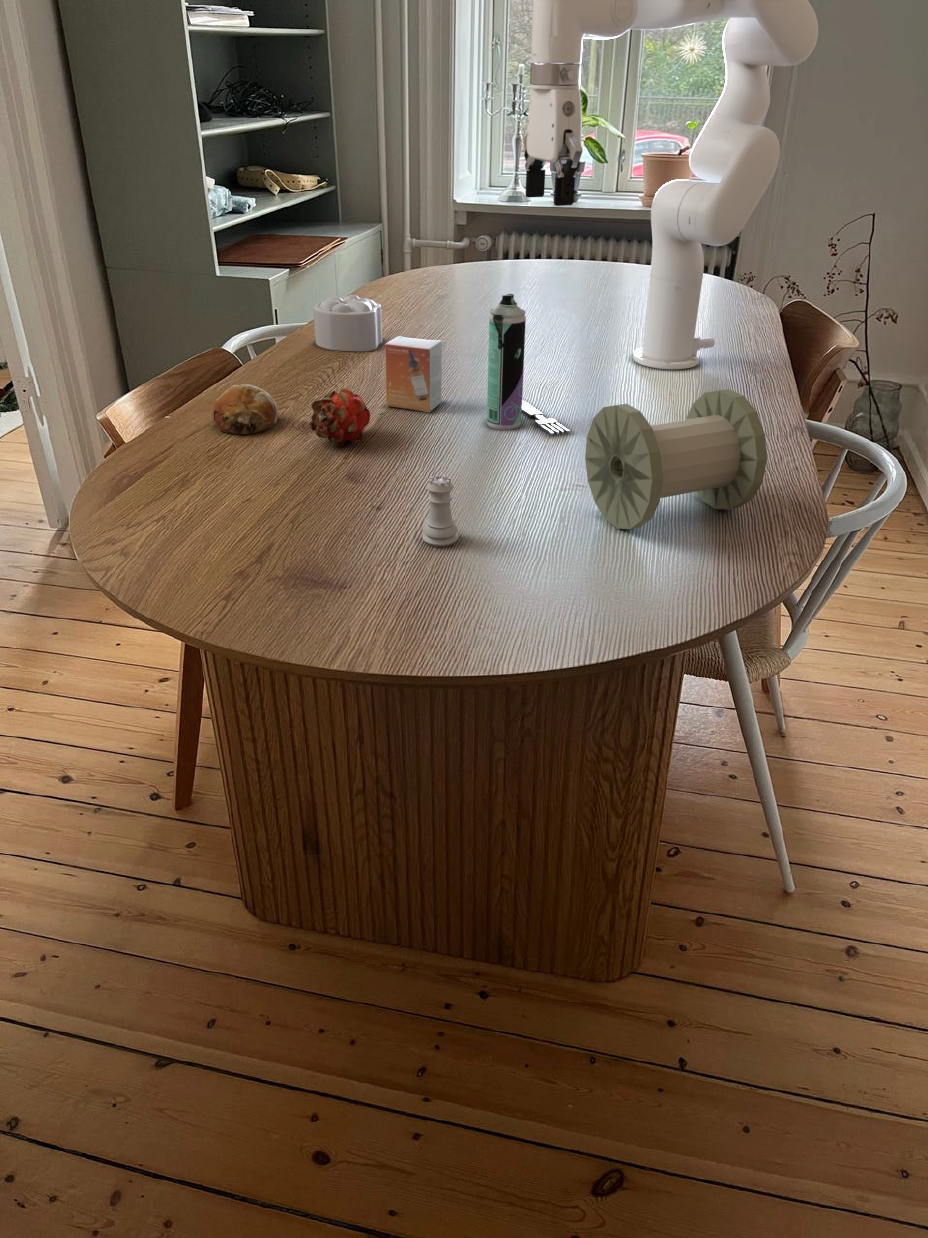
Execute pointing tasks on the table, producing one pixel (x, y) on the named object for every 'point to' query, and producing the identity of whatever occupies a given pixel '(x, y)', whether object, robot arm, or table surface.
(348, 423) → the dragon fruit
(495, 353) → the spray can
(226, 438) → the table surface
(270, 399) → the bread roll
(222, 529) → the table surface
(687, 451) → the spool
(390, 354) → the small box
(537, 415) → the fork
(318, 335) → the lumpy-topped squat cylinder
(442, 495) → the rook chess piece
